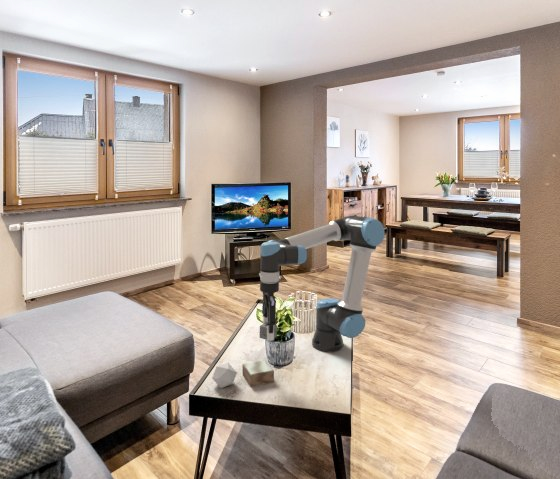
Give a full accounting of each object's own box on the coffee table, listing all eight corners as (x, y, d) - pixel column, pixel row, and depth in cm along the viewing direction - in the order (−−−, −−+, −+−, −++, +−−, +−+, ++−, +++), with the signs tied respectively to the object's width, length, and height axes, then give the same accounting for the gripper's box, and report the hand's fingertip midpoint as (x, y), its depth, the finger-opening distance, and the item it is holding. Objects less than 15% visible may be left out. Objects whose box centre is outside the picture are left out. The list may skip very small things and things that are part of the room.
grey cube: (259, 337, 160) (259, 325, 159) (266, 333, 164) (266, 322, 164) (270, 340, 158) (270, 328, 157) (276, 336, 162) (276, 324, 161)
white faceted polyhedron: (230, 378, 164) (214, 360, 162) (244, 373, 159) (229, 355, 157) (220, 394, 157) (204, 376, 155) (234, 390, 152) (218, 372, 150)
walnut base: (264, 371, 169) (265, 359, 168) (273, 382, 160) (274, 370, 159) (242, 375, 165) (242, 363, 164) (250, 387, 156) (250, 375, 155)
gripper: (255, 275, 166) (254, 327, 170) (265, 288, 147) (264, 347, 150) (273, 274, 168) (271, 326, 171) (285, 287, 149) (283, 345, 152)
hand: (268, 336), depth 161 cm, fingers closed on grey cube, 7 cm apart
